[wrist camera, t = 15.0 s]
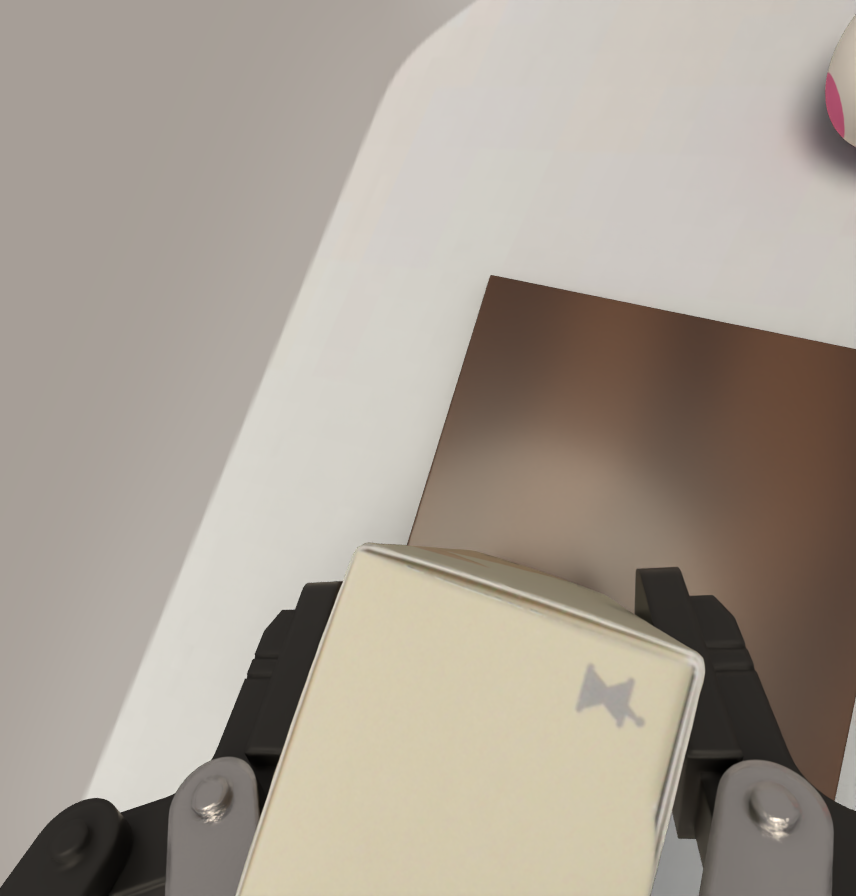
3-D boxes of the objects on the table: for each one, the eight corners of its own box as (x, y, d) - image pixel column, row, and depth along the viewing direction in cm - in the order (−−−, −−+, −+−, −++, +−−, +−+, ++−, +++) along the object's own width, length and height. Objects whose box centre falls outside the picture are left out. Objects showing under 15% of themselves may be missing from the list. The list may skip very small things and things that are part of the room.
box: (468, 546, 18) (361, 509, 7) (613, 596, 17) (731, 636, 6) (410, 722, 17) (200, 961, 7) (557, 786, 16) (586, 1182, 6)
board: (376, 655, 24) (371, 657, 23) (491, 280, 26) (490, 274, 25) (822, 818, 20) (830, 826, 20) (914, 367, 22) (924, 362, 22)
